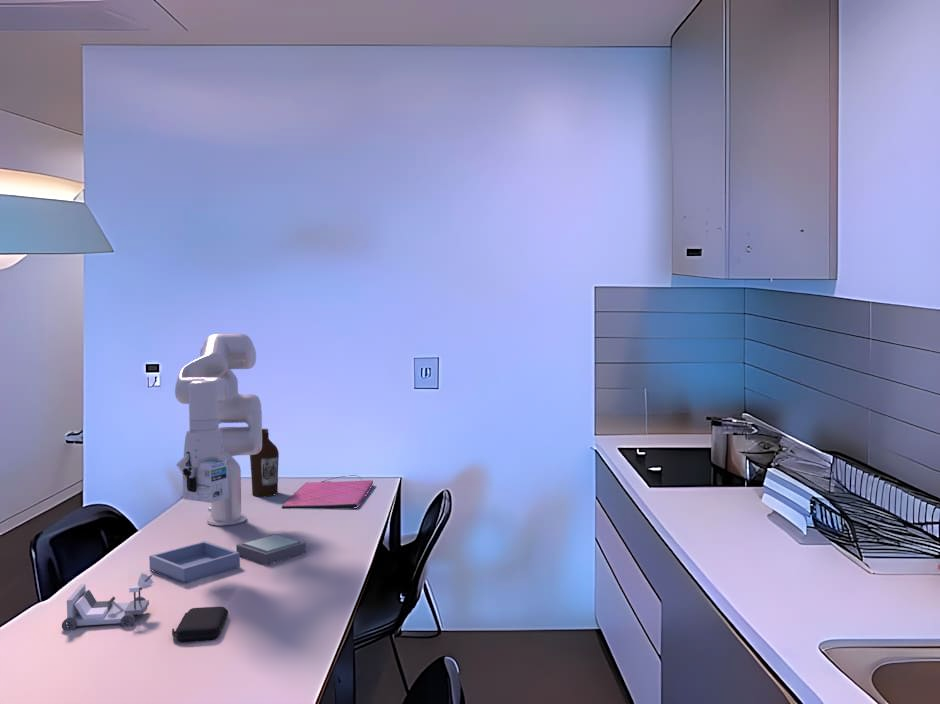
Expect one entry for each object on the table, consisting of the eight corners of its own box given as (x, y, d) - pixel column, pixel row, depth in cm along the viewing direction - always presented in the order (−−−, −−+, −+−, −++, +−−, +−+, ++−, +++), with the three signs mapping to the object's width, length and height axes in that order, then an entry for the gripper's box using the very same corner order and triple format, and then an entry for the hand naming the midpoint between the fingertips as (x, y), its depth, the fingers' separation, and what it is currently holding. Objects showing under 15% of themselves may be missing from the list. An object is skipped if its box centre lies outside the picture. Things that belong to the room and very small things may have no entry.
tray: (149, 570, 214) (149, 555, 214) (205, 554, 227) (204, 541, 227) (184, 584, 203) (183, 568, 203) (239, 566, 216) (239, 552, 216)
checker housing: (236, 555, 227) (236, 544, 226) (276, 543, 238) (275, 533, 237) (266, 565, 218) (266, 554, 218) (305, 552, 229) (305, 542, 229)
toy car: (157, 567, 188) (145, 584, 177) (158, 607, 189) (146, 627, 177) (77, 571, 185) (60, 589, 174) (78, 612, 186) (61, 632, 174)
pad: (243, 548, 227) (243, 543, 227) (275, 539, 235) (275, 534, 235) (267, 556, 220) (267, 550, 220) (298, 546, 228) (298, 541, 228)
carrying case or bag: (182, 618, 182) (167, 646, 167) (182, 605, 182) (167, 632, 167) (229, 616, 183) (219, 643, 169) (229, 603, 183) (218, 629, 169)
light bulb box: (229, 498, 217) (228, 459, 216) (212, 503, 211) (211, 464, 210) (199, 494, 221) (198, 456, 220) (181, 499, 215) (181, 460, 214)
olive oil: (245, 493, 300) (244, 429, 298) (270, 489, 307) (269, 426, 305) (259, 498, 292) (258, 432, 290) (284, 494, 299) (283, 429, 298)
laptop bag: (356, 499, 277) (281, 500, 278) (357, 511, 277) (281, 511, 278) (375, 474, 317) (308, 475, 318) (375, 484, 317) (309, 484, 318)
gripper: (223, 420, 224) (224, 481, 225) (167, 427, 210) (168, 492, 211) (239, 422, 219) (240, 484, 220) (183, 430, 205) (184, 496, 206)
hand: (205, 488), depth 216 cm, fingers closed on light bulb box, 7 cm apart
